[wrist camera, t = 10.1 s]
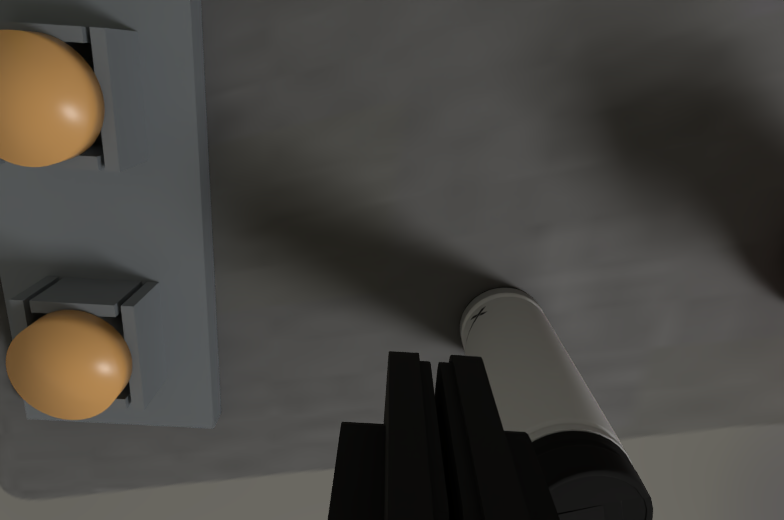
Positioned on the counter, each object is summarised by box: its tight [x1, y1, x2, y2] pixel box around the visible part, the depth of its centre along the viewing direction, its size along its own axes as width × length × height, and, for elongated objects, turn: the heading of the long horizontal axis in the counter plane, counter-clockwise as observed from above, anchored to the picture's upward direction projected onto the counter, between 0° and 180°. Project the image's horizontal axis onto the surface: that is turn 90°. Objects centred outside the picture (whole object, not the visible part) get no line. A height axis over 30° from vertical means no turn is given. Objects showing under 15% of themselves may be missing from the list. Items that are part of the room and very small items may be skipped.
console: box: [0, 0, 221, 429], centre depth 36 cm, size 32×14×6 cm, turn 176°
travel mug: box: [460, 288, 653, 520], centre depth 32 cm, size 6×7×20 cm
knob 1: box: [0, 30, 105, 167], centre depth 32 cm, size 7×7×6 cm
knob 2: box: [6, 310, 132, 420], centre depth 37 cm, size 7×7×6 cm
